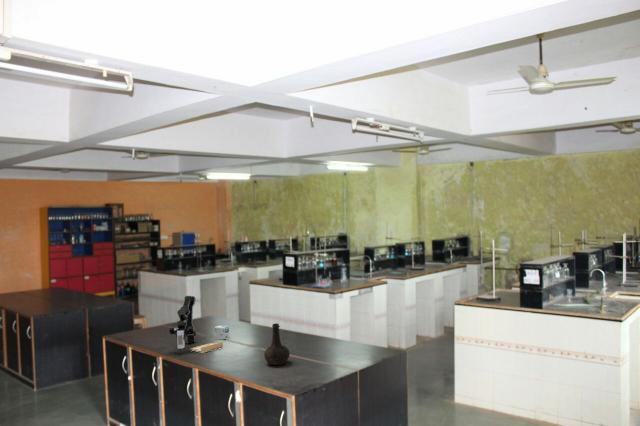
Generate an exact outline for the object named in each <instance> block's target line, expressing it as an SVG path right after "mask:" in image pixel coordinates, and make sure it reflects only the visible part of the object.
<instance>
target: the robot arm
mask: <svg viewBox="0 0 640 426" xmlns="http://www.w3.org/2000/svg"><path fill="white" fill-rule="evenodd" d="M196 299H197V298H196V297H195V296H194V295H186V296H184V302H183V304H182V306H181V307H180V309H178V310H177V311H176V312H177V316H178V319H179V320H177V321H176V322H177V323H176V326H177V327H175V326H174V327H173V326H172V327H171V326H170V327H169V328H168V332H169V334H170V335H175V336H176V338H177V331H180V330H184V337H183V340H184V341H185V339H186V342H188V343H192V342H195V337H196V336H197V332H196V330H195V329H196V328H195V325H193V312H194V310H193V309H194V306H195V303H196ZM192 344H193V343H192Z"/></svg>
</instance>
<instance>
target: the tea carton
mask: <svg viewBox="0 0 640 426" xmlns="http://www.w3.org/2000/svg"><path fill="white" fill-rule="evenodd" d="M183 337H184V330H180V331H177V337H176V342H177V349H178V350H179V349H184V348H185V345H186V342H185V339H184V340H183Z"/></svg>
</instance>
